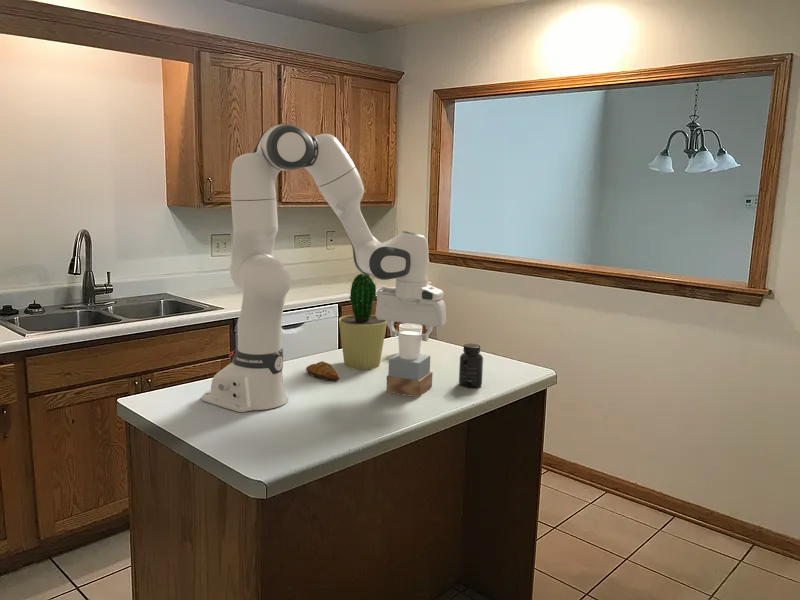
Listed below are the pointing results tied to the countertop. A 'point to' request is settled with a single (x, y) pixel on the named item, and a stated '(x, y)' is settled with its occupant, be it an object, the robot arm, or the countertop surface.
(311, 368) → the croissant
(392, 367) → the top block
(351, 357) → the potted cactus
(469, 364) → the supplement bottle
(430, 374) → the bottom block
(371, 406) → the countertop surface
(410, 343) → the white piece
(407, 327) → the white cup
